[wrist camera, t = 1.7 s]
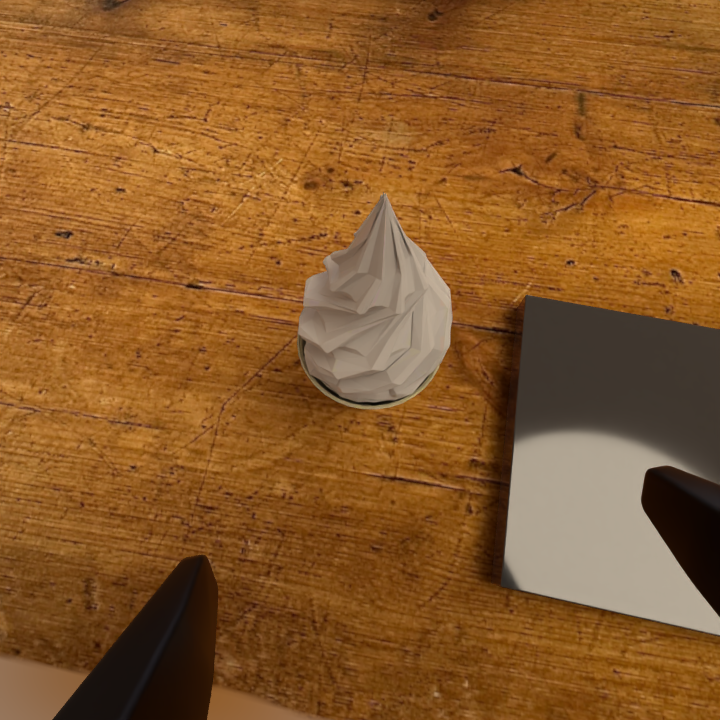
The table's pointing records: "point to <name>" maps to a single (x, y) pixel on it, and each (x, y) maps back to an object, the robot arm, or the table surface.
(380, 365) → the ice cream cone
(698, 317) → the table surface
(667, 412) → the serving board
